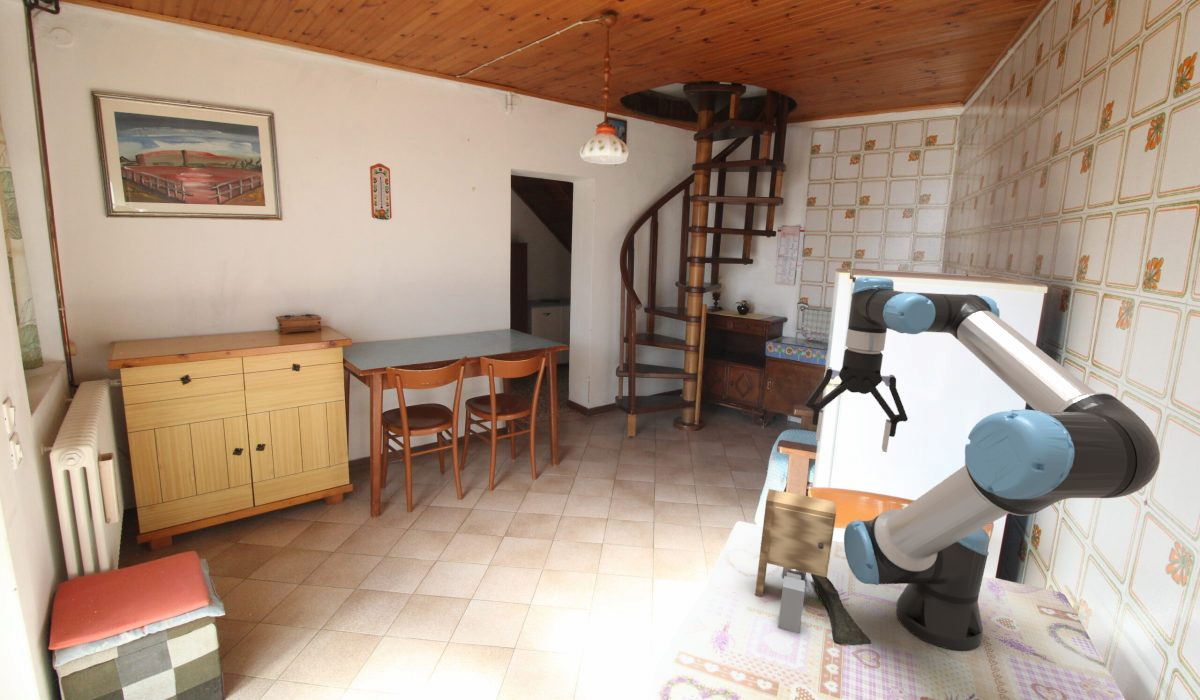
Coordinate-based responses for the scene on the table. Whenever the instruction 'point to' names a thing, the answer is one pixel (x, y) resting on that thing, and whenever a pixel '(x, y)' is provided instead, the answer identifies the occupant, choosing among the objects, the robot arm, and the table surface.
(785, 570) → the grey short cylinder
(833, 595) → the tool
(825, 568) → the wall cabinet
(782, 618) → the gray stepped block
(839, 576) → the table surface
